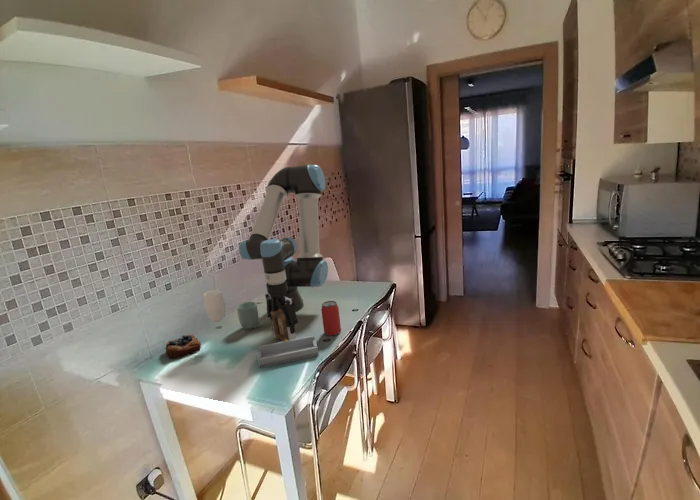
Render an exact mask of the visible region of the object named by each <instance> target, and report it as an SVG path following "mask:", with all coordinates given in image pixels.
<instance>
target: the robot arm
mask: <svg viewBox="0 0 700 500" xmlns="http://www.w3.org/2000/svg"><path fill="white" fill-rule="evenodd" d="M326 186H327V185H326V177H325V174H324V172H323V169H322V168H321V166H319V164H305V165H297V166H285V167H284V168H281V169H280V170H278V171H277V172H276V173H275V174H274V175H273V176H272V178H271V179H270V180H269V181H268V184H267V186H266V189H265V194H266V195H265V197H264V199H263V202H262V205H261V207H260V210H259V212H258V215H257V218H256V221H255V223H254V226H253V229H252V230H251V234H250V236H249V239H248V240H247V239H246V240H242V242H240V243H239V246H238V252H239V255H240V257H241V258H242V259H244V260H251V261H252V260H253V261H254V260H262V266H263V272H264V279H265V283H266V285H265V287H266V292H267V293H266V294H264V296H265V297H264V298H265V300H266V317H267V318H269V319H270V321H271V322H272V323H271V324H272V325H273V321H272V315H271V311H273V312H274V311H276V310H278V309H281V310H282V312H283V314H284V315H285V316H286V321H287V324H288V326H287V331H288V337H289V340H292V339H297V336H296V328H295V327H296V326H295V325H298V324H299V321H298V320H299V319H298V317H297V311H299V310H300V309H302V308H303V307H304V299H303V298H302V296H301V293H300V292H299V289H298V288H301V287H302V288H309V287H310V288H315V287H316V288H319V287H323V286H324V284H325V283H326V282H327V278H328V273H329V265H328V262H327V261H326V260H324V256H323V255H322V254H321V252H320V228H319V227H320V226H319V198H320V197H322V192H323V191H324V190H325V189H326ZM325 191H326V190H325ZM291 194H294V196H295V198H296V199H298V220H299V222H298V224H299V228H298V229H299V252H300V253H299V254H298V255H297V256H296V260H295V259H294V257H293V256H294V255H295V254H296V253H297V252H298V243H297V241H296V239H294V238H293V237H290V236H287V237H286V236H285V237H282V238H279V239H278V238H271V236H272V233H273V230H274V227H275V224H276V221H277V219H278V217H279V213H280V210H281V208H282V205H283V202H284V201H285V200H286V199H287V197H288V195H291ZM272 328H273V329H272V330H274V327H273V326H272ZM273 334H274V335H273V336H275V333H274V332H273Z"/></svg>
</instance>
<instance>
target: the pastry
mask: <svg viewBox="0 0 700 500" xmlns="http://www.w3.org/2000/svg"><path fill="white" fill-rule="evenodd" d="M201 343H202V342H201V341H200V339H198V337H196V336H195V335H194V334H186V335H182V336H181V337H179V338H177V339H171V340H169V341H168V342H167V343H166V346H165V353H166V355H167V357H168V358H169V359H171V360H173V361H174V360H176V359H179V358H183V357H186V356H189V355H192V354H195V353H196V351H197V352H199V351H201V348H202V347H201V346H202V344H201ZM194 352H195V353H194Z"/></svg>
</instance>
